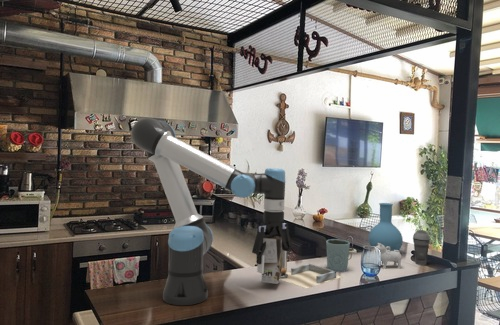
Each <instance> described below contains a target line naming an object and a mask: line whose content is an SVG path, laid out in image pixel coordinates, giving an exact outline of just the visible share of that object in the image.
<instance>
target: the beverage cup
mask: <svg viewBox="0 0 500 325" xmlns="http://www.w3.org/2000/svg"><path fill="white" fill-rule="evenodd" d="M418 226H419V227H418V229H419V230H416V231H415V232H414V233H413V236H412V241H413V246H414V247H413V249H414V251H413V252H414V261H415V262H414V263H415V264H416V265H417V266H426V265H427V261H428V254H429V245H430V240H431V238H430V235H429V233H428V232H427V231H425V230H423V229H422V228H421V220H420V219H419V220H418Z"/></svg>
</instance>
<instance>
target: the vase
mask: <svg viewBox="0 0 500 325" xmlns="http://www.w3.org/2000/svg"><path fill="white" fill-rule="evenodd" d="M378 205H379V222H378V223H377V224H375V225H374V226H373V227H372V228H371V230H370V231H369V233H368V243H369V245H370V247H371V246H378V244H377V243H380V244H382V245H384V246H385V248H386V247H387V246H389V247H390V251H394V250H399V251H400V249H402V246H403V236H402V233H401V231H400V229H398V228H397V227H396V226H395V225H394V224H393V222H392V221H393V220H392V219H393V217H392V216H393V205H394V204H393V203H389V202H379V203H378ZM387 249H388V248H387Z"/></svg>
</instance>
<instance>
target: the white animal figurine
mask: <svg viewBox="0 0 500 325" xmlns="http://www.w3.org/2000/svg"><path fill="white" fill-rule="evenodd" d="M377 244H378V246H375V247H376V248H378V249H379V250H380V252H381V261H382V265H381V266H380V267H382V269H384V270H385V269H386V268H387V264H388V263H389V262H390V263H391V262H392V263H393V265H392V266H393V267H397V268H396V269H399V270H400V269H401V263H402V258H403V255H402V254H401V251H400V250H394V251H390V247H389V246H387V247H386V248H385V246H384V245H382V244H380V243H377ZM387 248H388V249H387Z"/></svg>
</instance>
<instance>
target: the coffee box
mask: <svg viewBox="0 0 500 325" xmlns="http://www.w3.org/2000/svg"><path fill="white" fill-rule="evenodd" d="M264 242H266V248H265V250H264V253H263V255H264V274H261V283H265V284H276V285H278V284H279V283H280V281H281V280H280V278H281V267H282V250H283V249H282V236H272V237H271V238H263V243H264Z"/></svg>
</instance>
